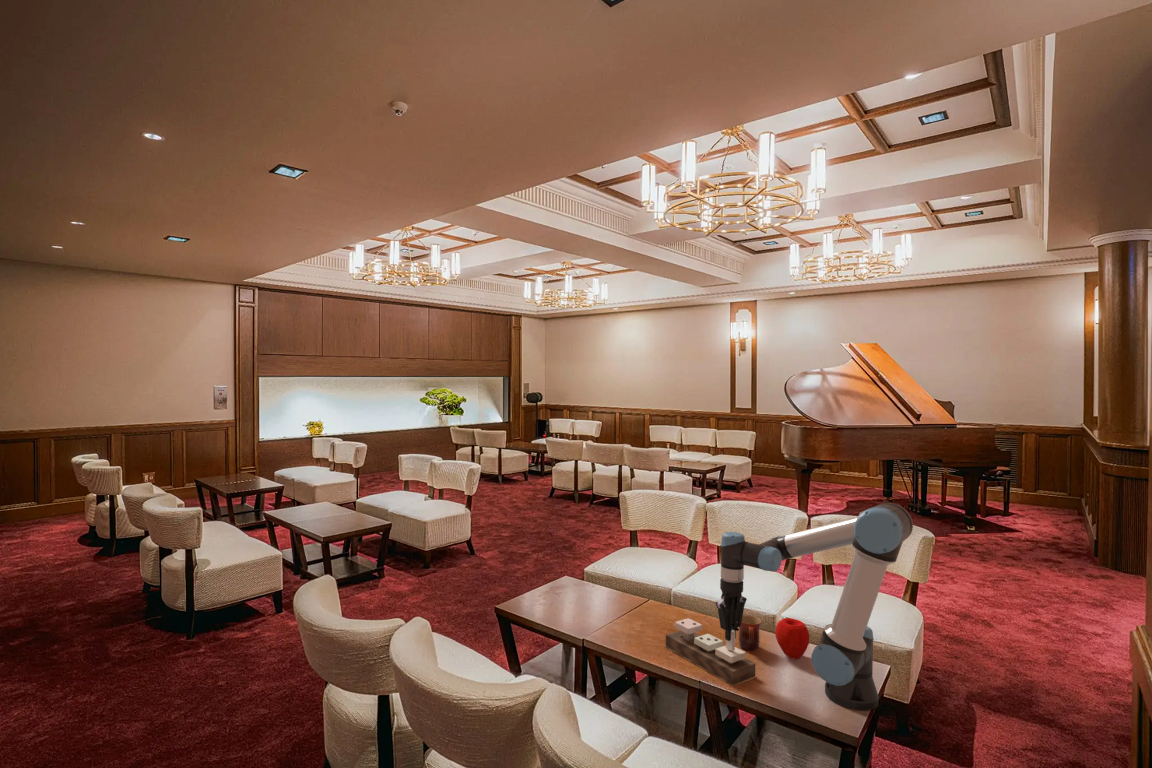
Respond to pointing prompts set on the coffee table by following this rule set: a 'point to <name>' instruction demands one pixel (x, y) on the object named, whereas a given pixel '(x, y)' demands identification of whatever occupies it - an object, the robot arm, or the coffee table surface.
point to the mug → (749, 632)
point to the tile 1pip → (730, 654)
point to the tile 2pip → (688, 628)
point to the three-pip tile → (708, 642)
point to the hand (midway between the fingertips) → (730, 649)
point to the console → (711, 660)
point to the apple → (792, 637)
